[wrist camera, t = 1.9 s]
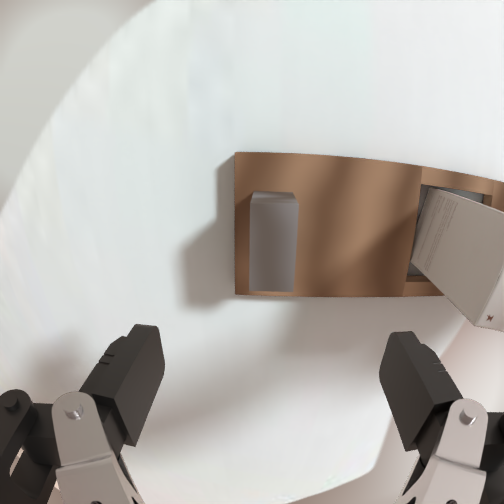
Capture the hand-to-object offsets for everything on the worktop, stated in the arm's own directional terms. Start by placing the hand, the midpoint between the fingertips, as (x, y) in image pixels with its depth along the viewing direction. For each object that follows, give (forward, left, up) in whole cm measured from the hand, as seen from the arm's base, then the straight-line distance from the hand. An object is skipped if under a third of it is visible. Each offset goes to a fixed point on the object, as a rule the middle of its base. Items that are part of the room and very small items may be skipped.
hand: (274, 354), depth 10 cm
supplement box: (-17, 0, -17) cm, 24 cm away
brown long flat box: (-11, 0, -17) cm, 20 cm away
